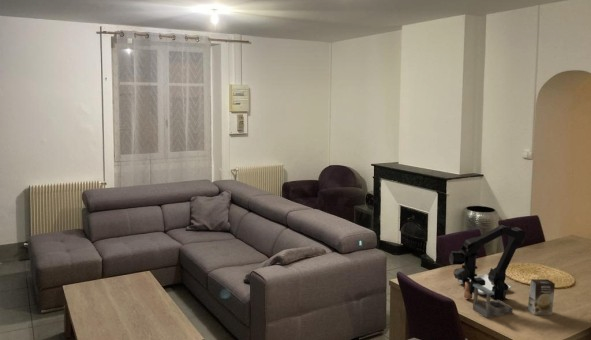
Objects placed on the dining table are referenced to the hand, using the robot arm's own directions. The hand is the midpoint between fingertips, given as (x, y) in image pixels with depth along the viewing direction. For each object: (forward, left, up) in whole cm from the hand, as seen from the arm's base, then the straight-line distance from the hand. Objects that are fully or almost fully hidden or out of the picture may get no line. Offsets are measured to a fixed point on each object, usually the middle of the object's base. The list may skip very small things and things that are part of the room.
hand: (468, 292), depth 259 cm
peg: (0, 0, -2) cm, 2 cm away
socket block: (-2, +16, -4) cm, 17 cm away
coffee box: (-24, +24, -4) cm, 34 cm away
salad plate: (-18, -11, -4) cm, 22 cm away
